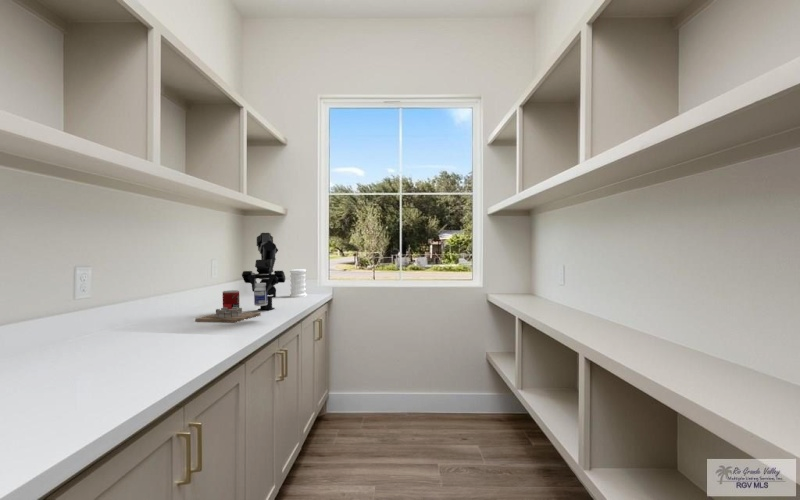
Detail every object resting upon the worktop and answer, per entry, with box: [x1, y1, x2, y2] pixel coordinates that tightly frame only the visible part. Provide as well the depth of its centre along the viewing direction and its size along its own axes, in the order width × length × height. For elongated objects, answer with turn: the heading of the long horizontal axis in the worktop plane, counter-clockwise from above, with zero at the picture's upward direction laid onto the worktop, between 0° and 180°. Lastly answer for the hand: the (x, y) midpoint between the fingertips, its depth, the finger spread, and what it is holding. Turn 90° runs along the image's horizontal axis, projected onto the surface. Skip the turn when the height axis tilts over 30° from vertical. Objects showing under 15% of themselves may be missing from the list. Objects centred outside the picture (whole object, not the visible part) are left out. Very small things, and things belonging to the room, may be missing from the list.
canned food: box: [222, 289, 240, 309], centre depth 212 cm, size 8×8×11 cm
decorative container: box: [289, 269, 308, 298], centre depth 286 cm, size 12×12×18 cm
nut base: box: [194, 306, 261, 323], centre depth 194 cm, size 20×20×4 cm
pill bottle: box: [253, 282, 269, 307], centre depth 189 cm, size 6×6×10 cm
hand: (259, 290), depth 188 cm, fingers closed on pill bottle, 6 cm apart
